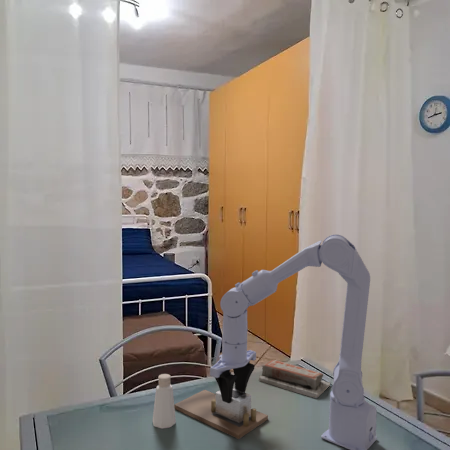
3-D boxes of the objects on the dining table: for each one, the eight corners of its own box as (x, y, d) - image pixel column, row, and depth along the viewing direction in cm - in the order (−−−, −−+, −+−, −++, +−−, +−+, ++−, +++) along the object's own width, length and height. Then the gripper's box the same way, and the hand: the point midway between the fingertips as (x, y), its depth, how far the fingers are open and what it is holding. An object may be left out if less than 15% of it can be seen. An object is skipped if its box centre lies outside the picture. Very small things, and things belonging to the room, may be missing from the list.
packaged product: (257, 365, 123) (274, 355, 131) (257, 382, 124) (274, 371, 132) (317, 382, 113) (332, 370, 121) (316, 400, 113) (331, 387, 121)
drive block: (250, 415, 101) (251, 394, 101) (239, 423, 98) (239, 401, 98) (227, 406, 106) (227, 386, 105) (215, 413, 102) (215, 392, 102)
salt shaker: (180, 423, 100) (181, 376, 99) (160, 431, 96) (160, 383, 96) (167, 414, 104) (167, 369, 103) (147, 421, 100) (147, 375, 100)
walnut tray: (267, 419, 102) (268, 405, 102) (238, 439, 94) (239, 423, 94) (204, 393, 115) (204, 380, 115) (174, 408, 107) (174, 394, 106)
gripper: (240, 329, 109) (239, 382, 110) (200, 344, 98) (199, 403, 99) (263, 335, 104) (262, 391, 105) (224, 352, 93) (223, 413, 94)
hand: (233, 397), depth 102 cm, fingers closed on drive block, 4 cm apart
